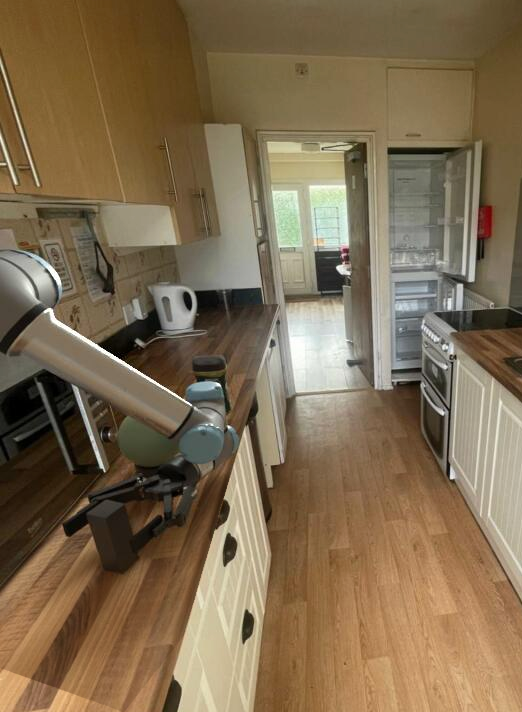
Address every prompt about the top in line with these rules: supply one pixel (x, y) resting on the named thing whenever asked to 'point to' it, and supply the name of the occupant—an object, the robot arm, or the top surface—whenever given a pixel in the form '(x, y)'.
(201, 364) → the coffee jar
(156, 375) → the top surface
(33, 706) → the top surface
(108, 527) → the black block
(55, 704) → the top surface
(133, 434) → the green round vase
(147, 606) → the top surface
